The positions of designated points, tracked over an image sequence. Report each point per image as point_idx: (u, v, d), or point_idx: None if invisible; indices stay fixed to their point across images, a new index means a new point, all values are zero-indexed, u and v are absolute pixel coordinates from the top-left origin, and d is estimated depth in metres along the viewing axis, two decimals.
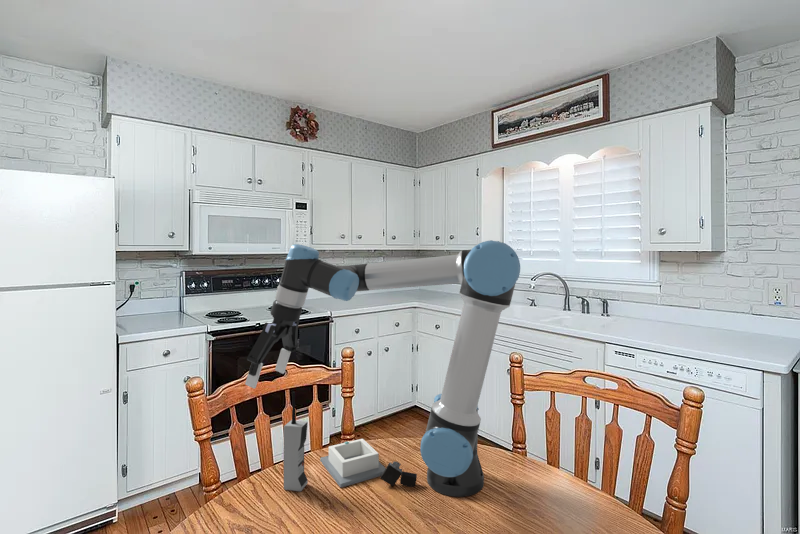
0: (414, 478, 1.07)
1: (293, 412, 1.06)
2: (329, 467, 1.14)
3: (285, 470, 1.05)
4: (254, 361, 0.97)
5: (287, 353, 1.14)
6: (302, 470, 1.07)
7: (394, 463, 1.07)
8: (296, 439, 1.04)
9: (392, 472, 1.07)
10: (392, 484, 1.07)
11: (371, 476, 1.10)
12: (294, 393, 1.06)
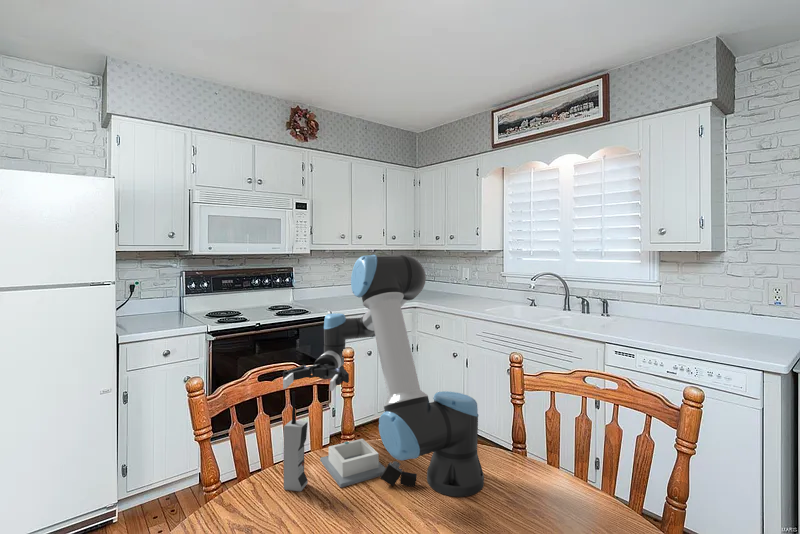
0: (414, 478, 1.07)
1: (293, 412, 1.06)
2: (329, 467, 1.14)
3: (285, 470, 1.05)
4: None
5: None
6: (302, 470, 1.07)
7: (394, 463, 1.07)
8: (296, 439, 1.04)
9: (392, 472, 1.07)
10: (392, 484, 1.07)
11: (371, 476, 1.10)
12: (294, 393, 1.06)
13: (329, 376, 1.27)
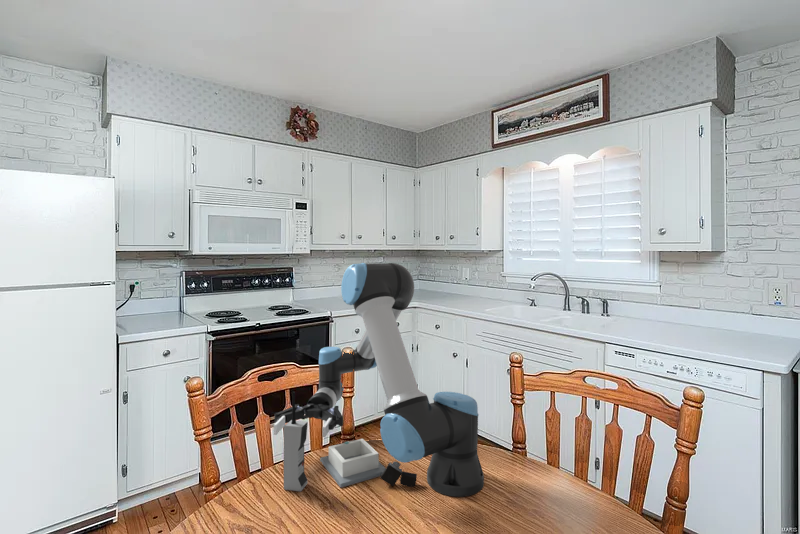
0: (414, 478, 1.07)
1: (293, 412, 1.06)
2: (329, 467, 1.14)
3: (285, 470, 1.05)
4: None
5: None
6: (302, 470, 1.07)
7: (394, 463, 1.07)
8: (296, 439, 1.04)
9: (392, 472, 1.07)
10: (392, 484, 1.07)
11: (371, 476, 1.10)
12: (294, 393, 1.06)
13: (323, 418, 1.21)
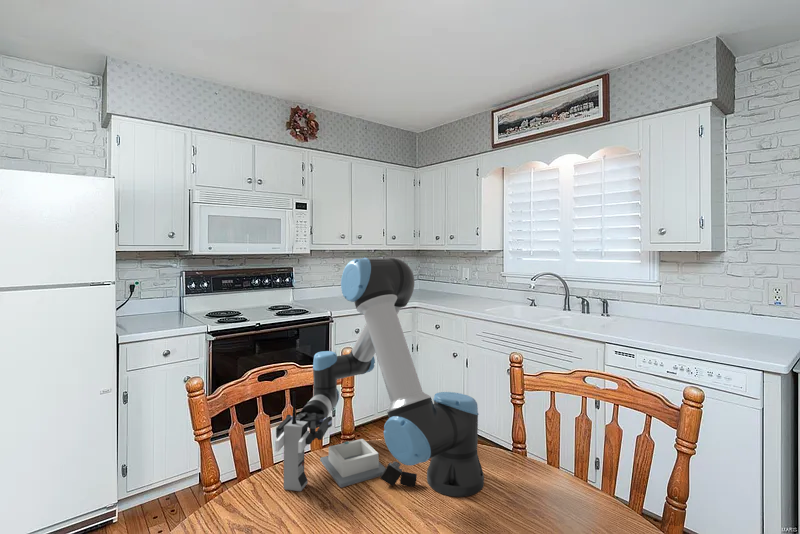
0: (414, 478, 1.07)
1: (293, 412, 1.06)
2: (329, 467, 1.14)
3: (285, 470, 1.05)
4: None
5: None
6: (302, 470, 1.07)
7: (394, 463, 1.07)
8: (297, 439, 1.04)
9: (392, 472, 1.07)
10: (392, 484, 1.07)
11: (371, 476, 1.10)
12: (295, 393, 1.06)
13: None
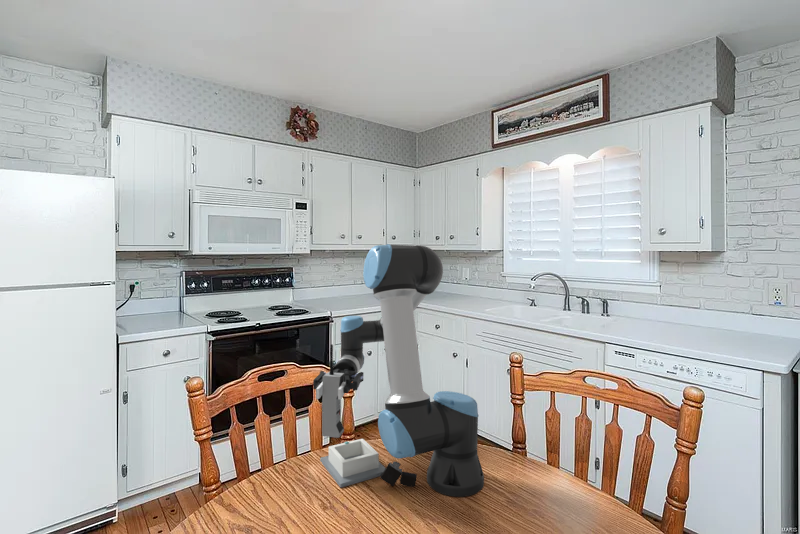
0: (414, 478, 1.07)
1: (331, 363, 1.12)
2: (329, 467, 1.14)
3: (324, 418, 1.11)
4: None
5: None
6: (339, 419, 1.13)
7: (394, 463, 1.07)
8: (335, 388, 1.10)
9: (392, 472, 1.07)
10: (392, 484, 1.07)
11: (371, 476, 1.10)
12: (332, 346, 1.12)
13: None
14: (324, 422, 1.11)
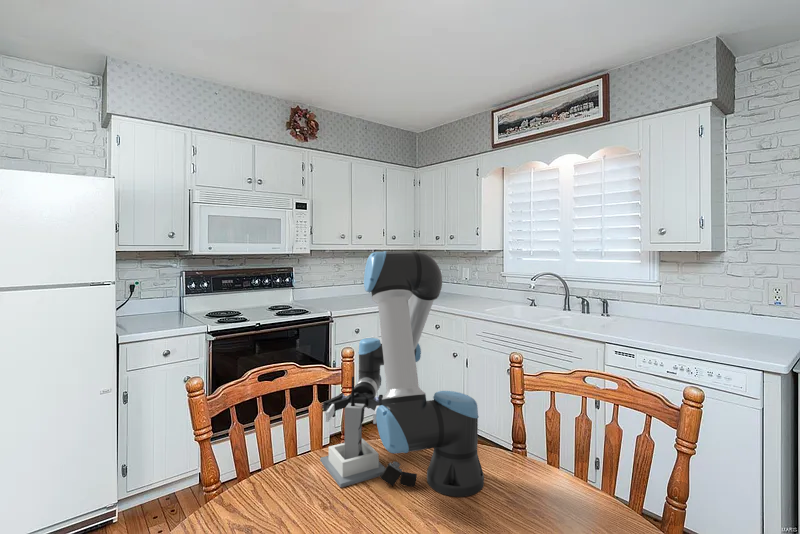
0: (414, 478, 1.07)
1: (352, 395, 1.16)
2: (329, 467, 1.14)
3: (346, 448, 1.15)
4: None
5: (376, 408, 1.18)
6: (360, 448, 1.17)
7: (394, 463, 1.07)
8: (357, 419, 1.14)
9: (392, 472, 1.07)
10: (392, 484, 1.07)
11: (371, 476, 1.10)
12: (353, 378, 1.16)
13: (369, 406, 1.24)
14: (346, 452, 1.15)
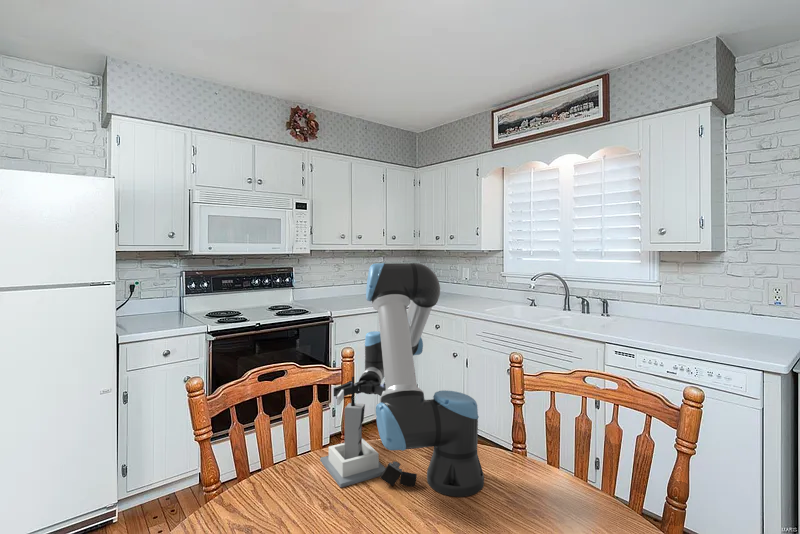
0: (414, 478, 1.07)
1: (353, 395, 1.16)
2: (329, 467, 1.14)
3: (346, 448, 1.15)
4: None
5: (382, 393, 1.31)
6: (360, 448, 1.17)
7: (394, 463, 1.07)
8: (357, 419, 1.14)
9: (392, 472, 1.07)
10: (392, 484, 1.07)
11: (371, 476, 1.10)
12: (353, 378, 1.16)
13: (375, 392, 1.37)
14: (346, 452, 1.15)
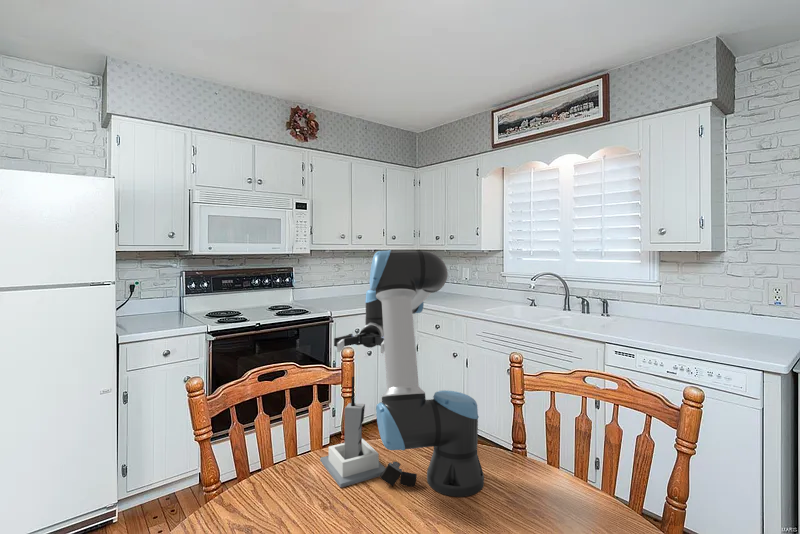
0: (414, 478, 1.07)
1: (353, 395, 1.16)
2: (329, 467, 1.14)
3: (346, 448, 1.15)
4: None
5: None
6: (360, 448, 1.17)
7: (394, 463, 1.07)
8: (357, 419, 1.14)
9: (392, 472, 1.07)
10: (392, 484, 1.07)
11: (371, 476, 1.10)
12: (353, 378, 1.16)
13: (376, 343, 1.37)
14: (346, 452, 1.15)
